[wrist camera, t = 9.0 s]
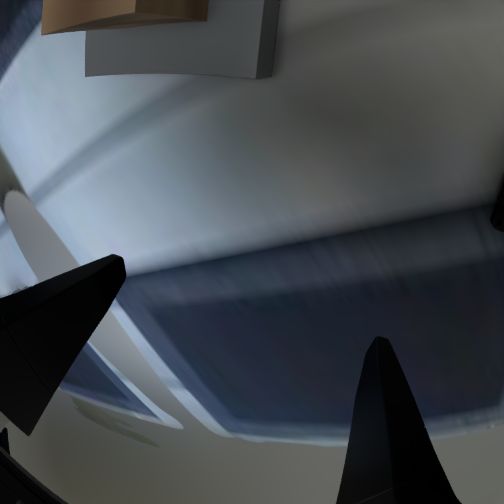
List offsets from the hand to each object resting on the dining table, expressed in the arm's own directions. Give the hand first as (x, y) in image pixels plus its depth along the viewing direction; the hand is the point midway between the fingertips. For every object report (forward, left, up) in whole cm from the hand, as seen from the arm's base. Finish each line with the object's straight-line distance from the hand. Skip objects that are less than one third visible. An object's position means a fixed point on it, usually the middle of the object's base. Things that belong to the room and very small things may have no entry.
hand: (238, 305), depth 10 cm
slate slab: (+9, -12, -12) cm, 19 cm away
